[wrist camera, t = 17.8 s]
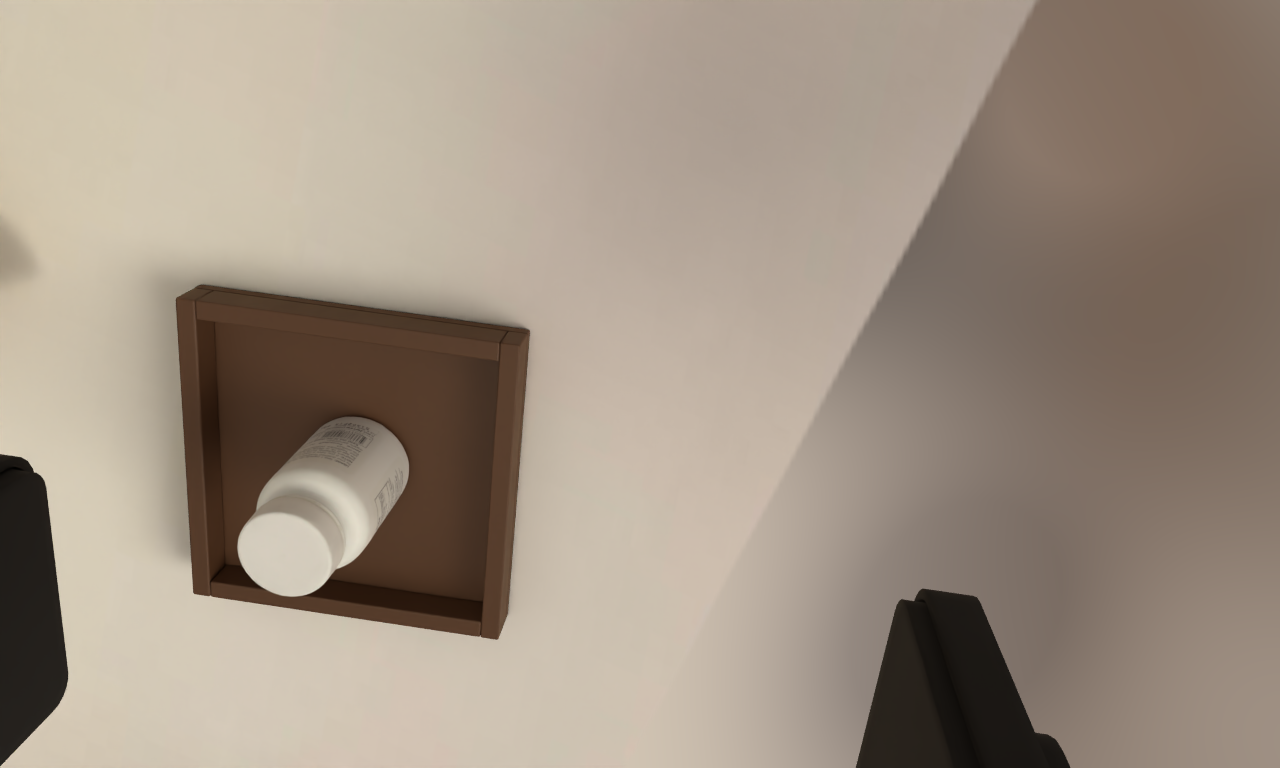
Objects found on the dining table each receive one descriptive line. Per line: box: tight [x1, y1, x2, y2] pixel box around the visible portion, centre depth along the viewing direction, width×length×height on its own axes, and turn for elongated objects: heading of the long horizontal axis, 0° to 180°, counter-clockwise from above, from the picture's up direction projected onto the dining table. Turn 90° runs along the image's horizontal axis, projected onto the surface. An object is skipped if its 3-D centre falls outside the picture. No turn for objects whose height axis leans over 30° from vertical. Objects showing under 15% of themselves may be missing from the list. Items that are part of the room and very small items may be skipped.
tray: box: [176, 285, 530, 640], centre depth 41 cm, size 14×14×2 cm
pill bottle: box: [237, 417, 409, 597], centre depth 38 cm, size 4×4×8 cm
